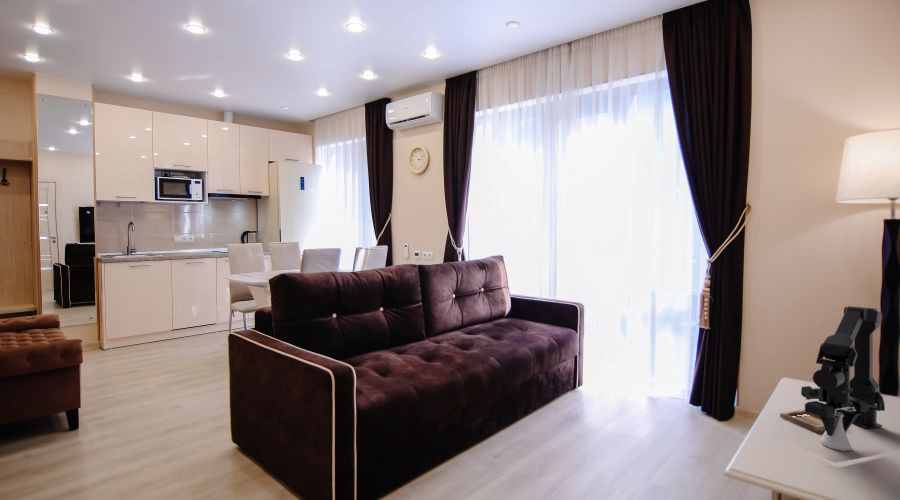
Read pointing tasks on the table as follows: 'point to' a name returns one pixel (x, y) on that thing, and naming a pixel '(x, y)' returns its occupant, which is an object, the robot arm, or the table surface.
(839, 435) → the flask
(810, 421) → the tray
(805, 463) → the table surface
